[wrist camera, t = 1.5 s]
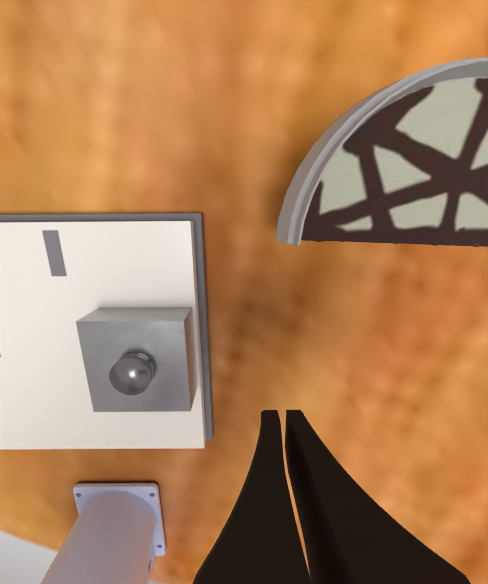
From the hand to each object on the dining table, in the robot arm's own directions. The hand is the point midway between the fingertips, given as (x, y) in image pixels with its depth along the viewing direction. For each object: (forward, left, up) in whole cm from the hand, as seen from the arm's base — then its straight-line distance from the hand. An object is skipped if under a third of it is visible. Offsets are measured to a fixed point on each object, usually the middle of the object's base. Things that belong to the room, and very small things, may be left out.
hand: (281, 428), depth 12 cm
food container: (+11, -6, -10) cm, 16 cm away
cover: (0, +9, -7) cm, 11 cm away
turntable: (0, +16, -8) cm, 18 cm away
